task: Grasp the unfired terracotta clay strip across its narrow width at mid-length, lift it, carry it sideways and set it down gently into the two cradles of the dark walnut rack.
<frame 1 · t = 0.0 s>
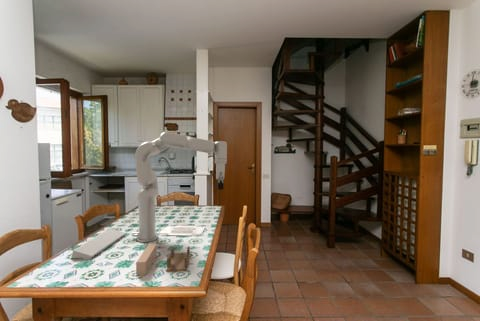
hand: (220, 188, 158), 31 cm above the table, fingers open, 9 cm apart
tray: (183, 231, 171), on the table
clay strip: (147, 263, 122), on the table
rack: (179, 262, 124), on the table
decorative molding: (101, 247, 144), on the table
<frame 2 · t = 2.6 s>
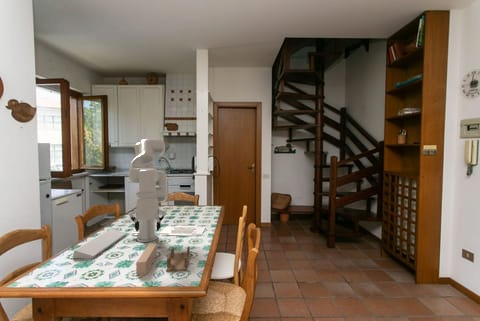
hand: (147, 230, 122), 16 cm above the table, fingers open, 9 cm apart
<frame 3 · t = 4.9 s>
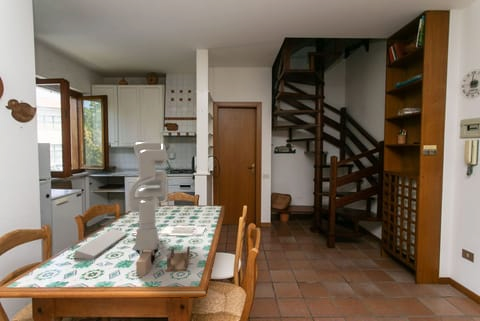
hand: (147, 262, 122), 1 cm above the table, fingers closed on clay strip, 4 cm apart
clay strip: (147, 263, 122), on the table, touching gripper
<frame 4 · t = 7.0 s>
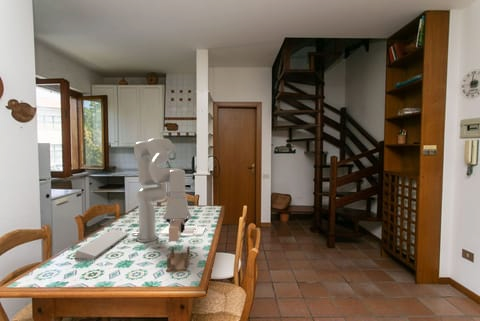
hand: (177, 231, 123), 15 cm above the table, fingers closed on clay strip, 4 cm apart
clay strip: (177, 233, 123), point 15 cm above the table, touching gripper
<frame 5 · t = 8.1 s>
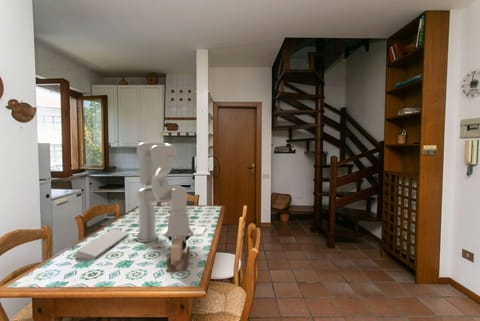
hand: (179, 248, 123), 7 cm above the table, fingers closed on clay strip, 4 cm apart
clay strip: (179, 250, 123), point 6 cm above the table, touching gripper
when the fingers open (3 cm above the table, at t = 9.2 s): clay strip drops 1 cm, resting on rack.
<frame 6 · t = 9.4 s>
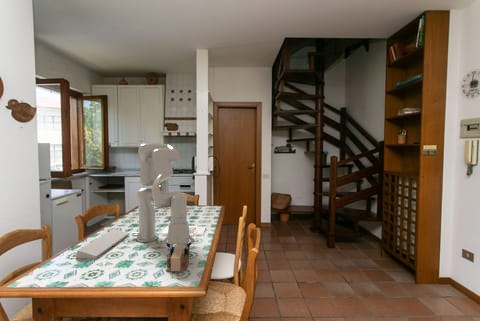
hand: (179, 255, 124), 3 cm above the table, fingers open, 5 cm apart
clay strip: (179, 260, 124), point 1 cm above the table, touching rack
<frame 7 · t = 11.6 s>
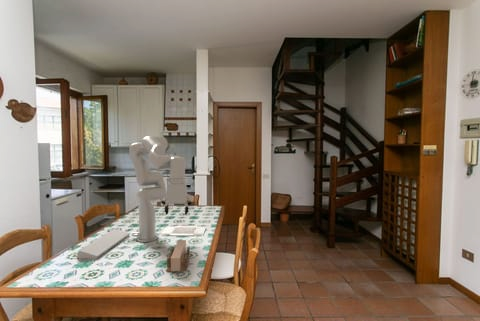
hand: (176, 213, 129), 22 cm above the table, fingers open, 9 cm apart
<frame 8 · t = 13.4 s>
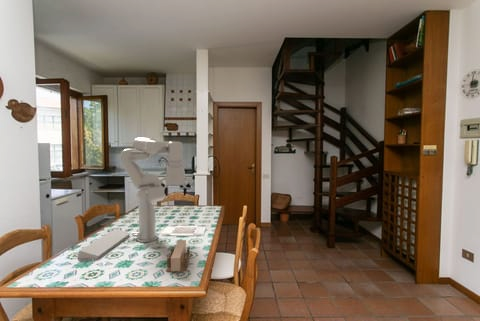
hand: (175, 195, 138), 30 cm above the table, fingers open, 9 cm apart
at the end: clay strip inside the target area on the rack (0.0 cm from its centre), point 1.0 cm above the rack's base; clay strip touching rack; the gripper is holding nothing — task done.
